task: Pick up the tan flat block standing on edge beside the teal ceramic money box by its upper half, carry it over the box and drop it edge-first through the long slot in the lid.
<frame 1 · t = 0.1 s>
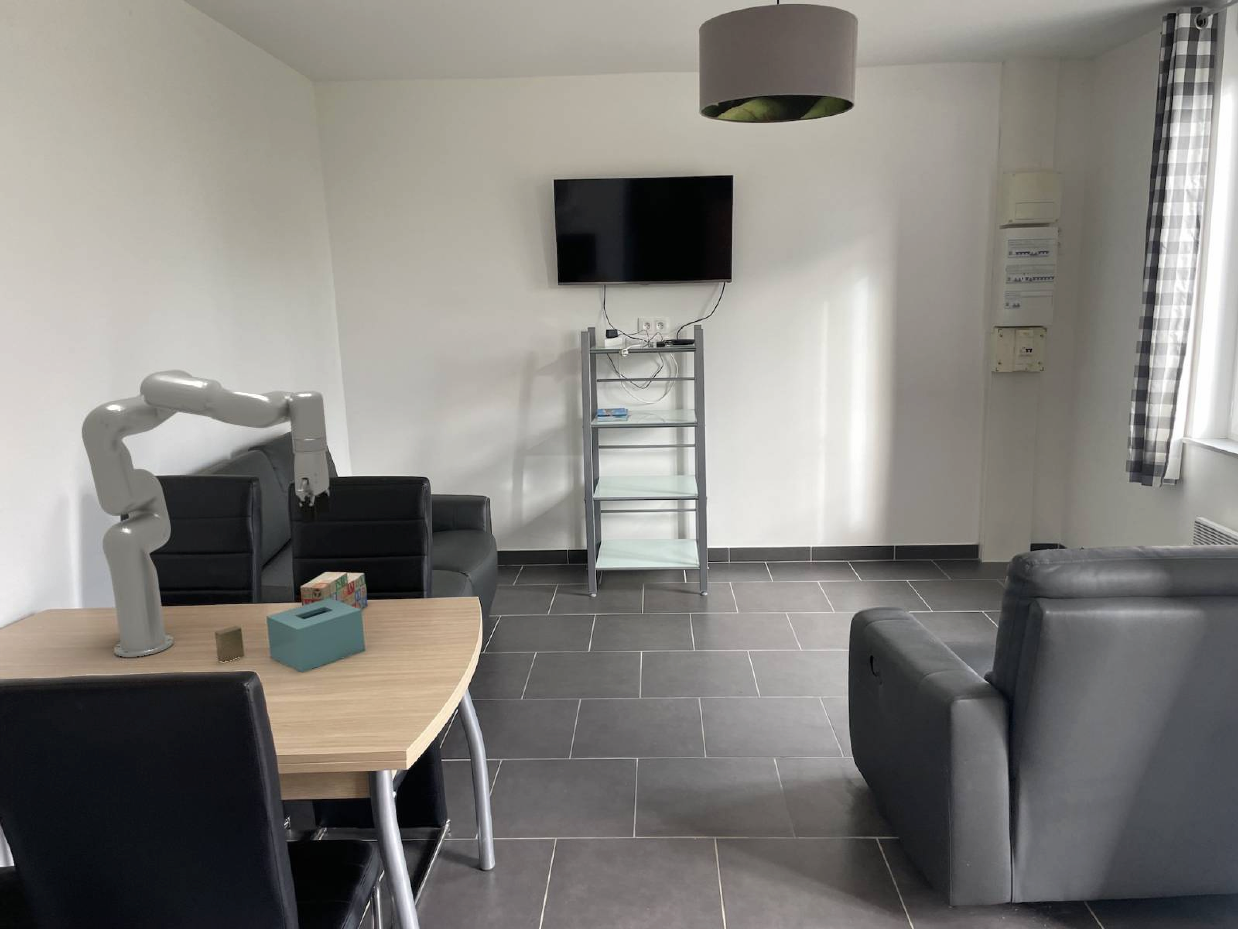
hand: (316, 517, 207), 31 cm above the table, tool pointing down, fingers open, 9 cm apart
stack of blocks: (337, 620, 231), on the table
tan flat block: (231, 658, 206), on the table
coin box: (318, 653, 207), on the table
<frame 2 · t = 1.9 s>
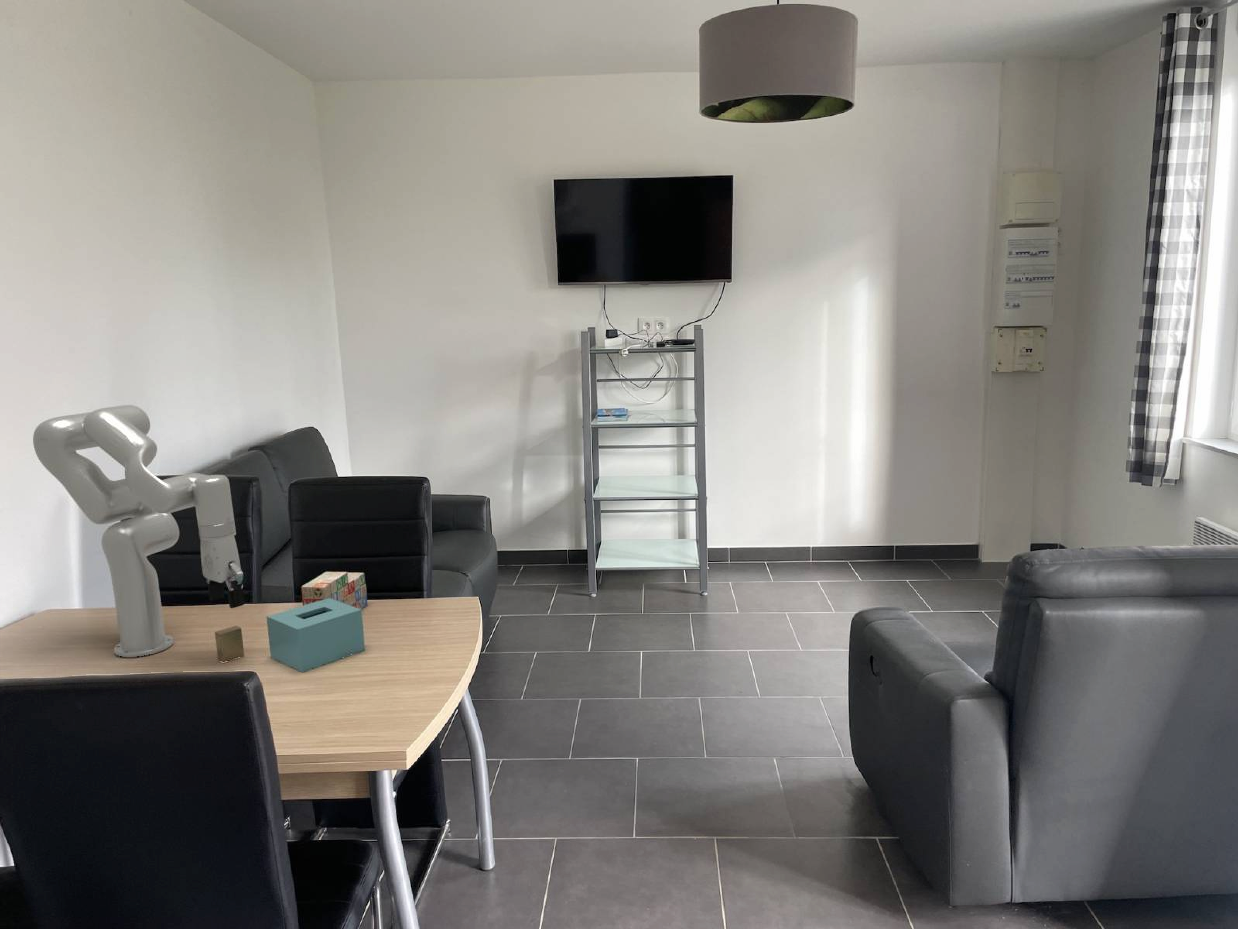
hand: (227, 602, 203), 14 cm above the table, tool pointing down, fingers open, 9 cm apart
nothing on the table moved.
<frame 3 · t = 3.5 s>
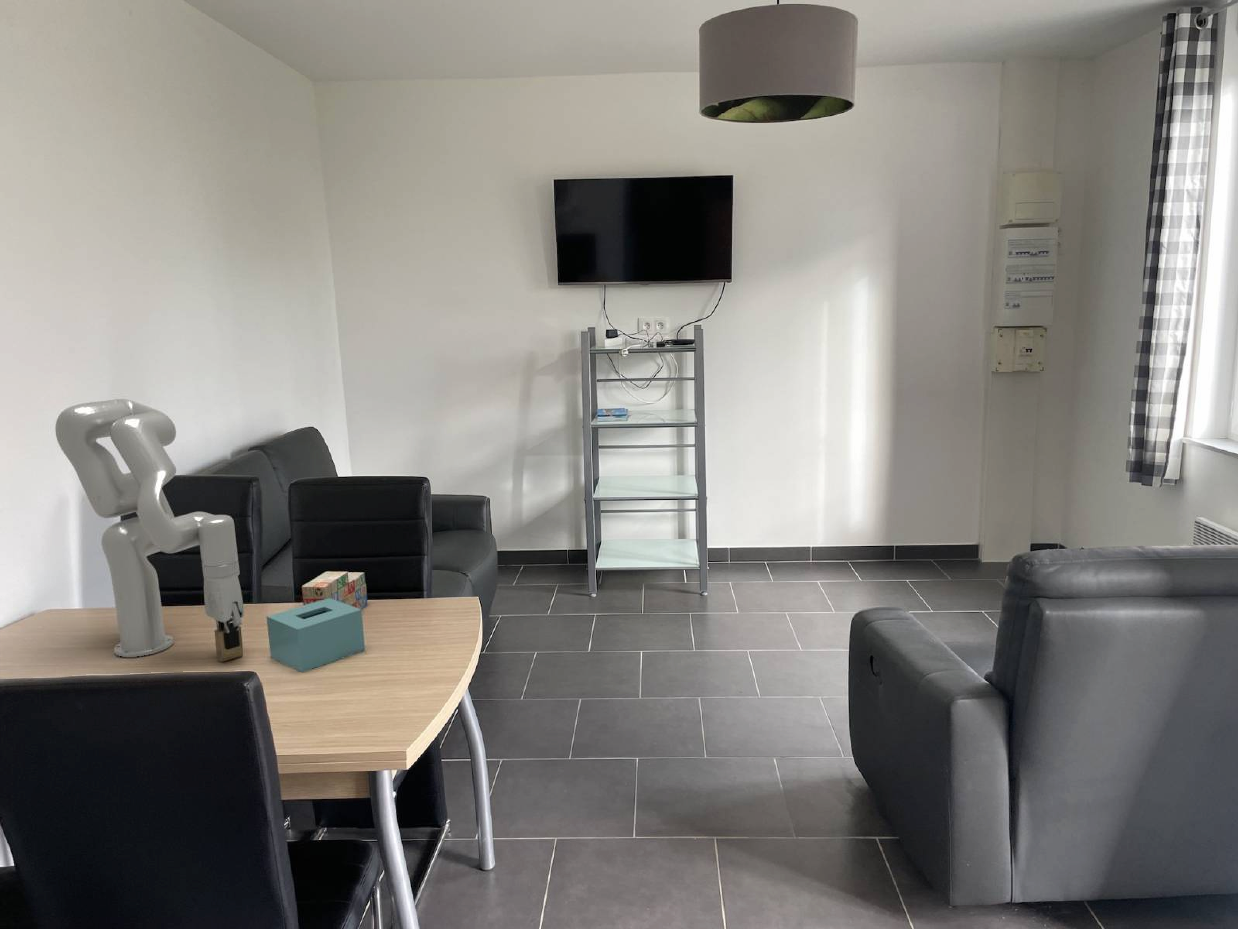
hand: (229, 645, 205), 3 cm above the table, tool pointing down, fingers closed on tan flat block, 2 cm apart
tan flat block: (230, 657, 206), on the table, touching gripper
everything else where it was.
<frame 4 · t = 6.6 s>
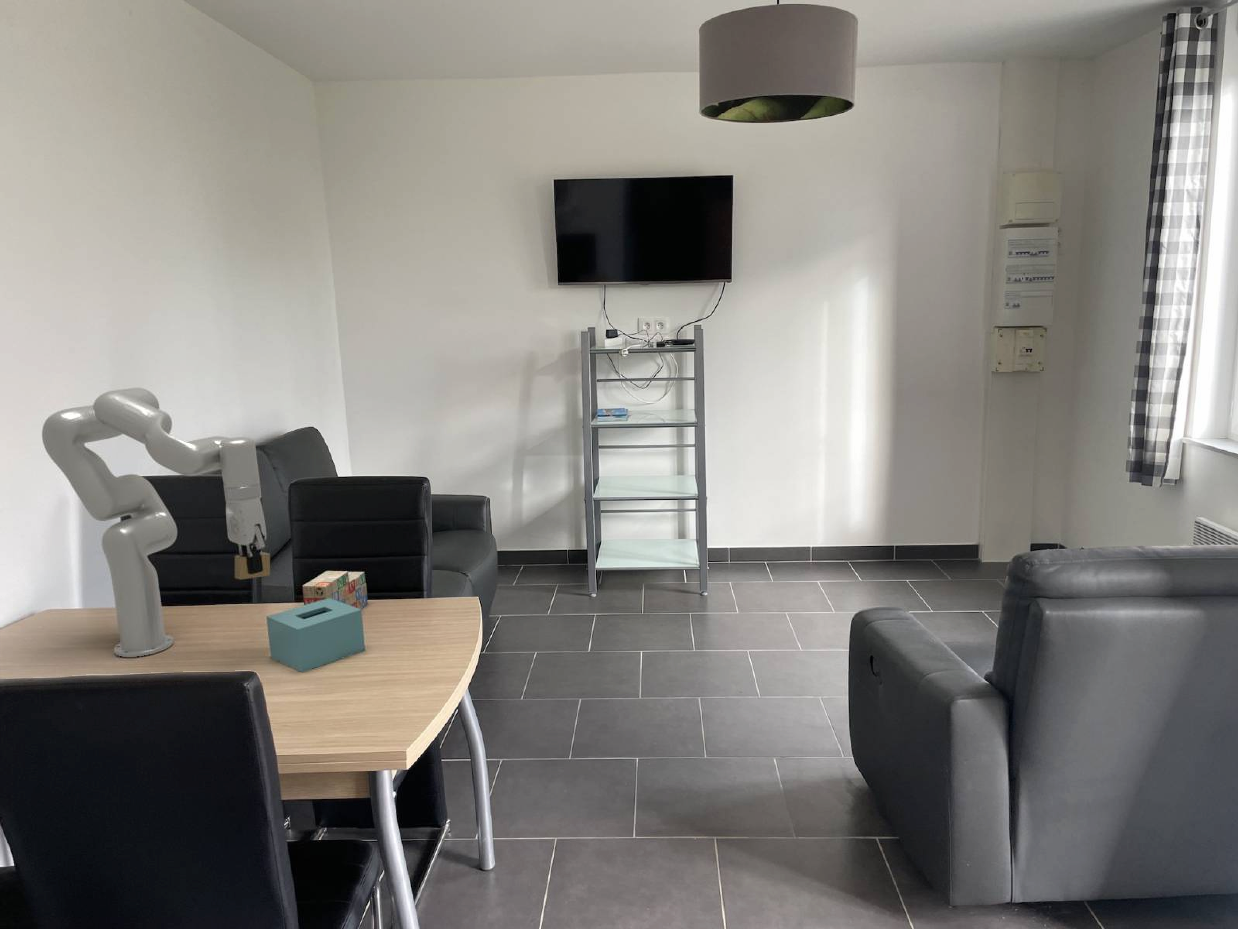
hand: (253, 571, 202), 21 cm above the table, tool pointing down, fingers closed on tan flat block
tan flat block: (267, 563, 205), point 22 cm above the table, tilted 84°, touching gripper
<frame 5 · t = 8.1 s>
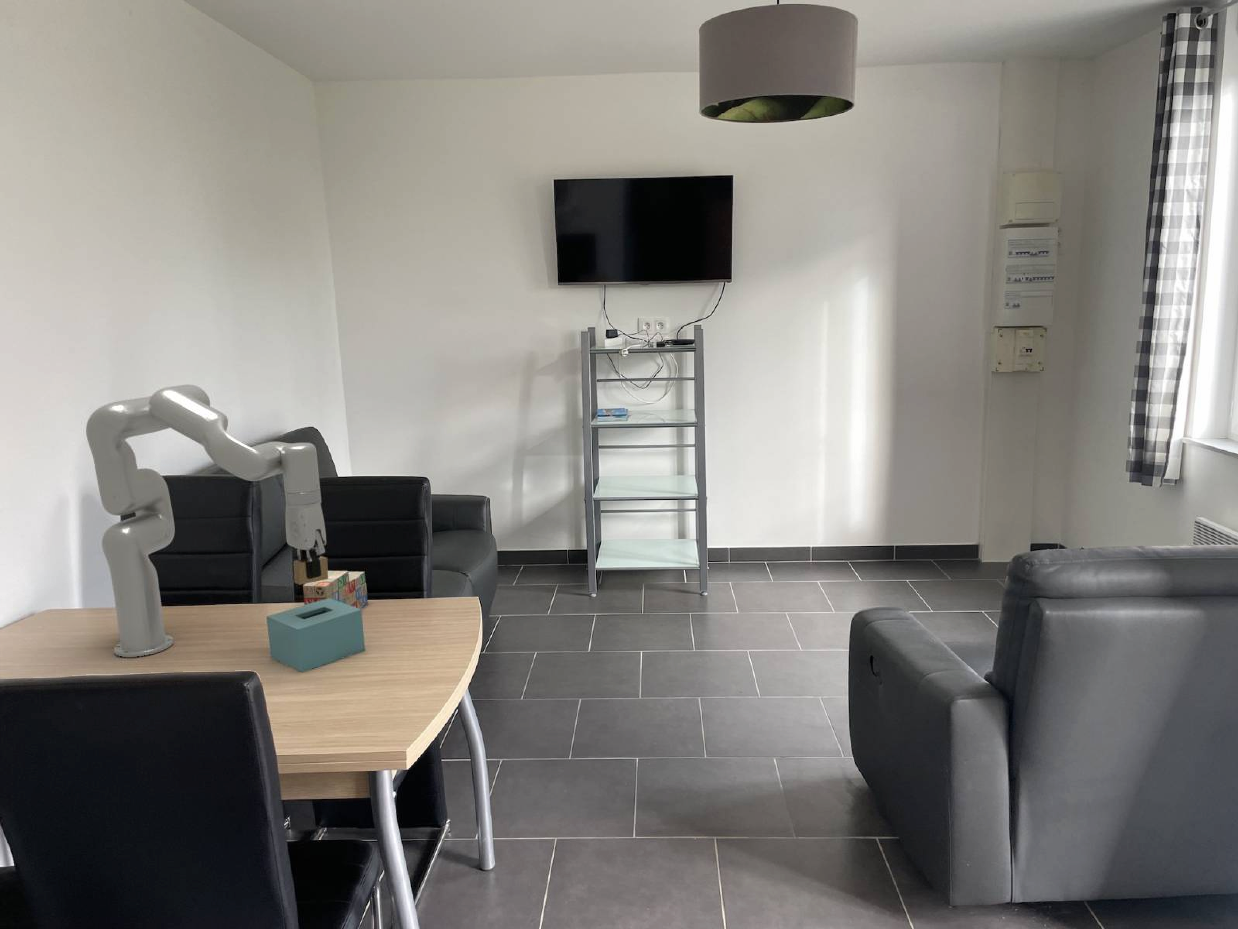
hand: (311, 575, 204), 19 cm above the table, tool pointing down, fingers closed on tan flat block
tan flat block: (324, 567, 206), point 20 cm above the table, tilted 86°, touching gripper
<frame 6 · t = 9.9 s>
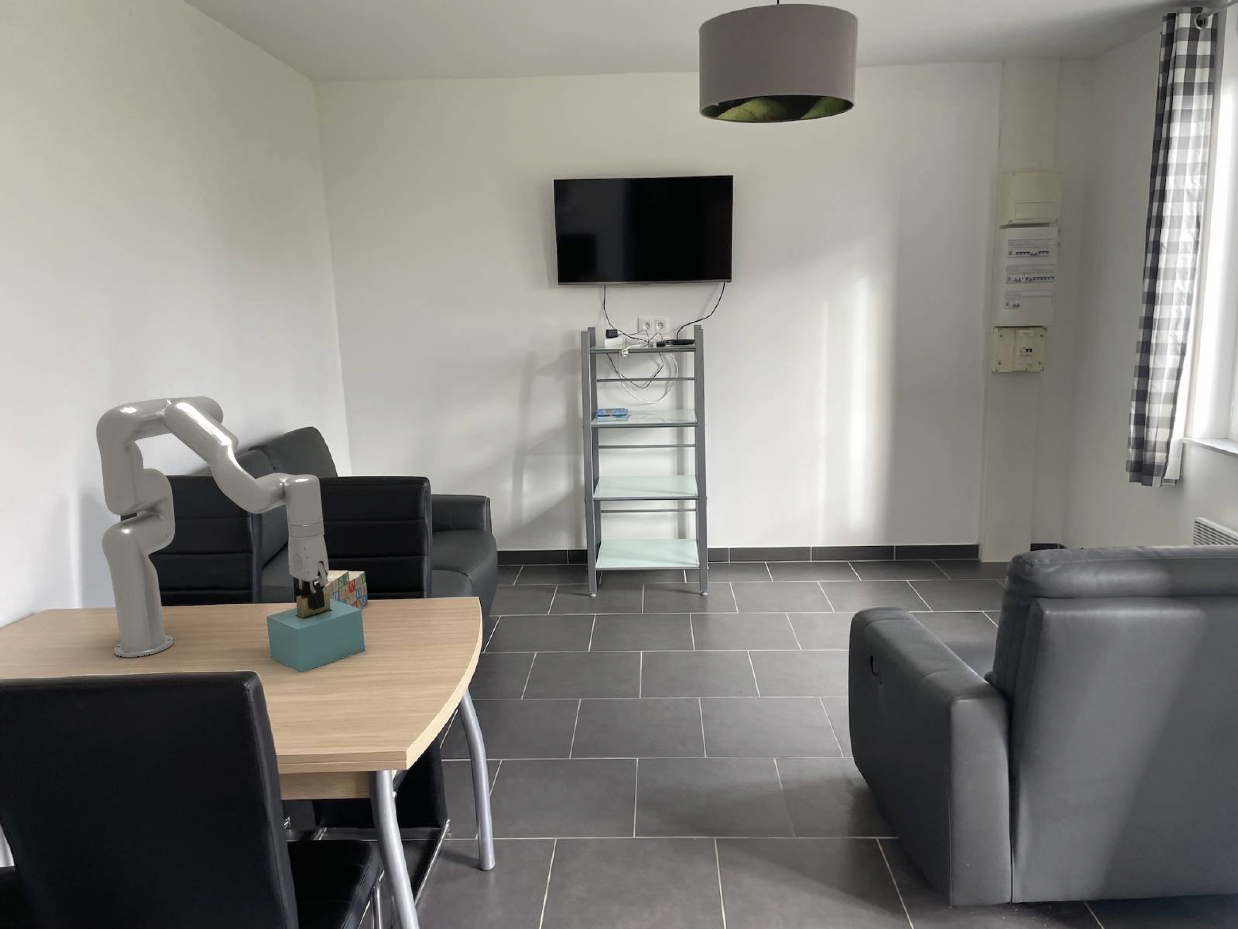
hand: (313, 605, 205), 12 cm above the table, tool pointing down, fingers open, 3 cm apart
tan flat block: (327, 601, 208), point 12 cm above the table, tilted 87°
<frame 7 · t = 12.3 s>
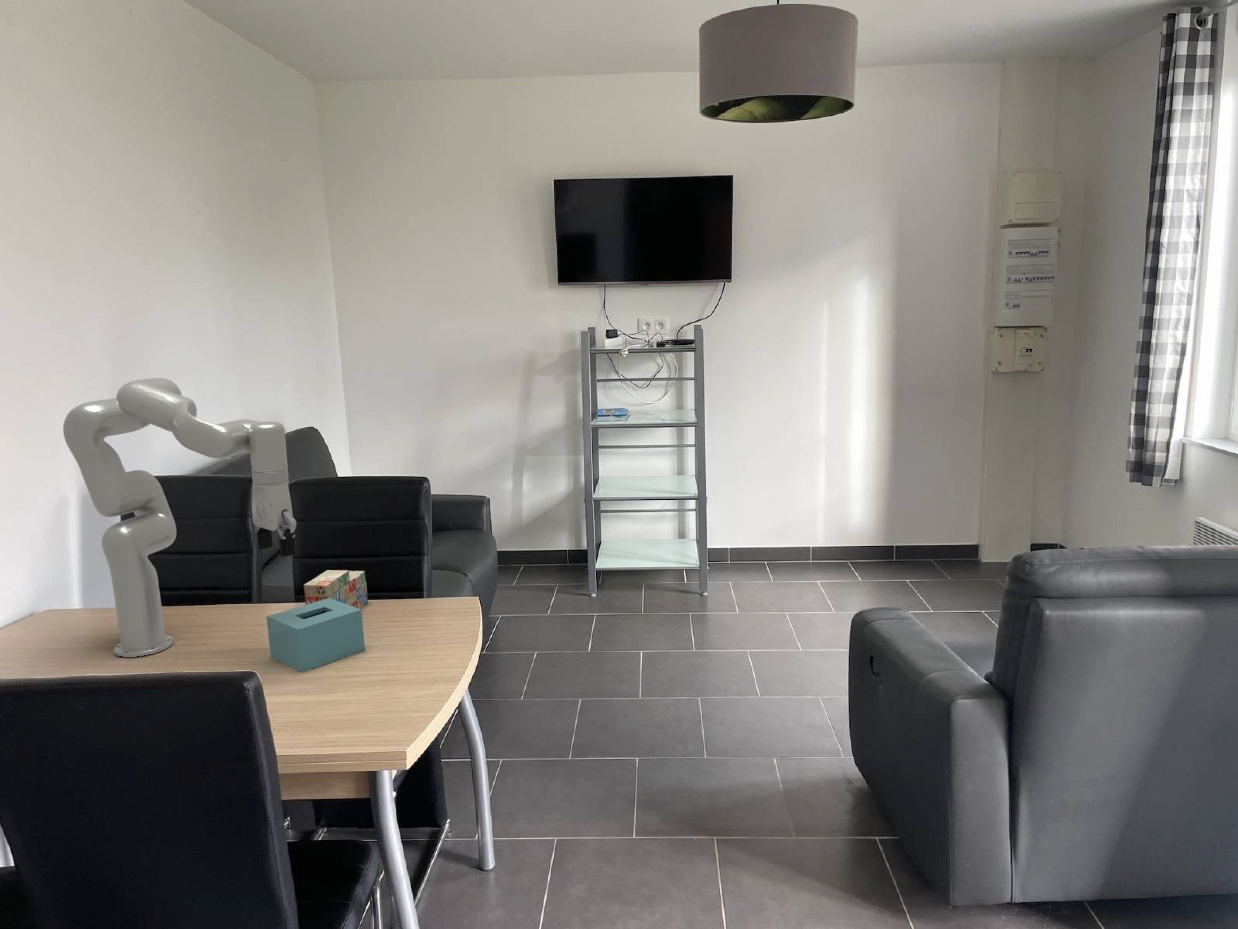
hand: (276, 551, 201), 25 cm above the table, tool pointing down, fingers open, 9 cm apart
tan flat block: (334, 636, 209), point 3 cm above the table, tilted 90°, touching coin box
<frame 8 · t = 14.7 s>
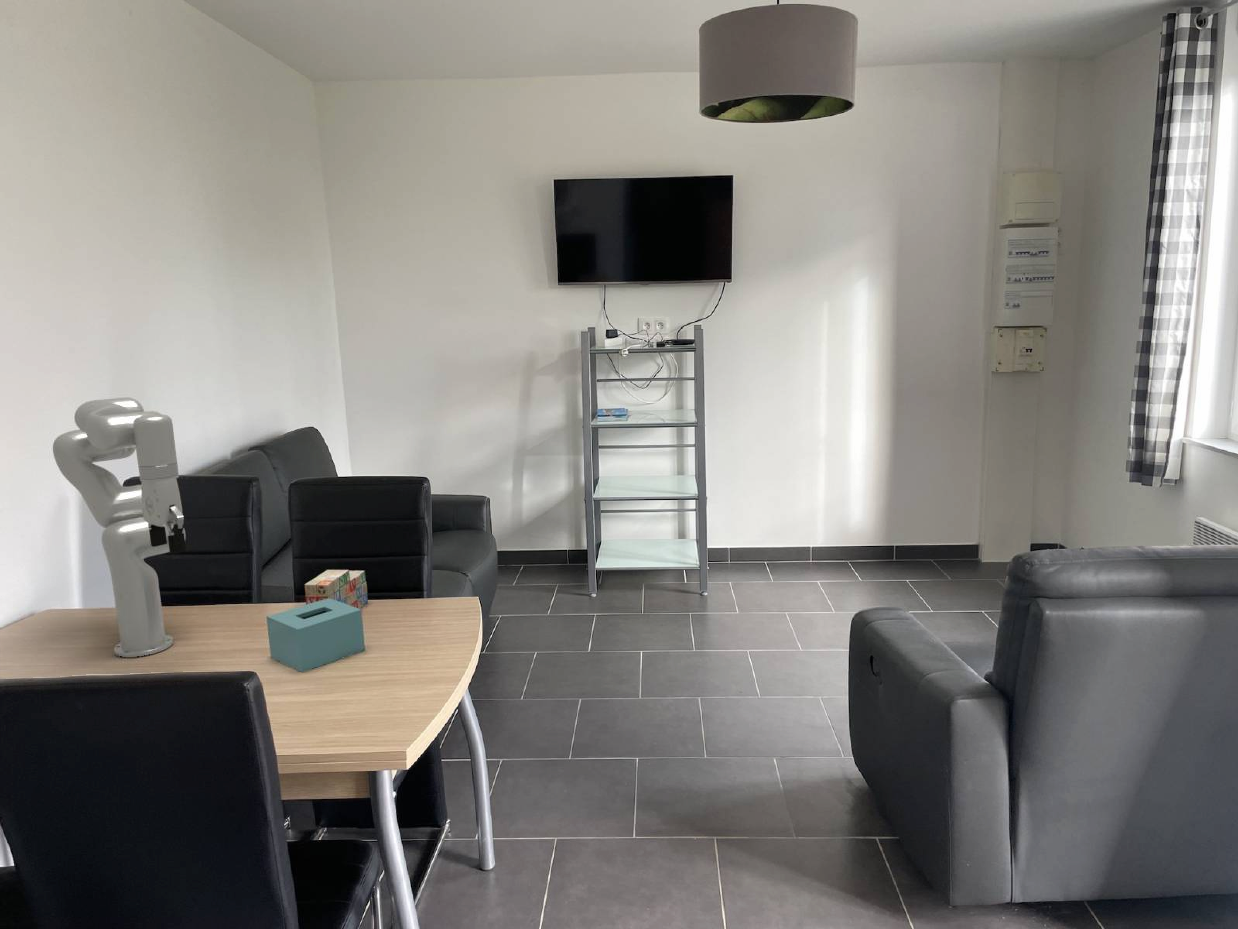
hand: (168, 548, 195), 28 cm above the table, tool pointing down, fingers open, 9 cm apart
at the end: tan flat block inside the target area on the coin box (4.2 cm from its centre), point 3.0 cm above the coin box's base; the gripper is holding nothing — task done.
